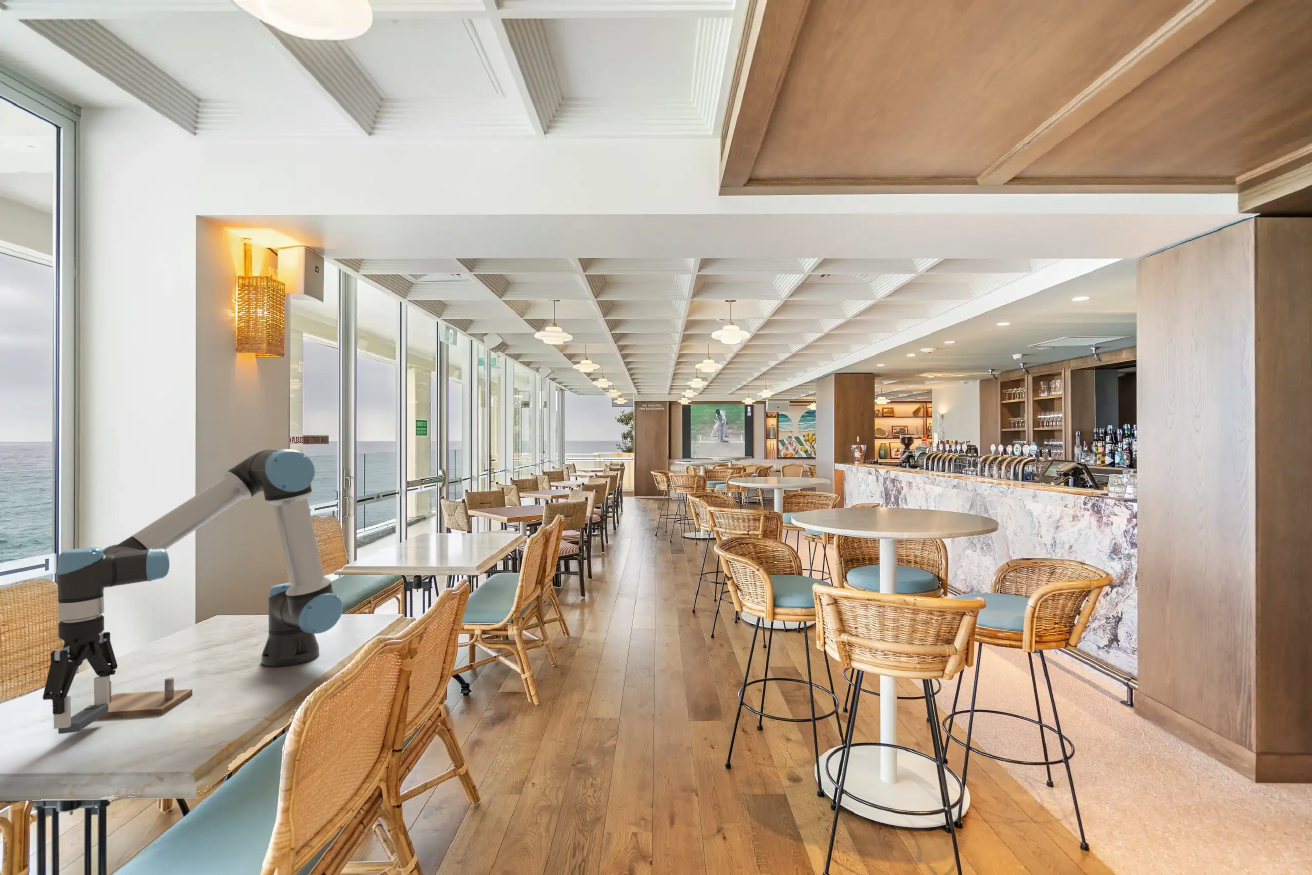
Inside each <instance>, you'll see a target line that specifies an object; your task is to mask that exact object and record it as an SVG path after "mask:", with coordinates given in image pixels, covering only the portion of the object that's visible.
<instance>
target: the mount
mask: <svg viewBox="0 0 1312 875" xmlns="http://www.w3.org/2000/svg"><path fill="white" fill-rule="evenodd" d="M109 690H110V704H108V712H106V713H105V714H104V715H102V716H101V717H99V718H98V719H97V720H100V719H101V720H104V719H117V718H133V717H134V718H135V717H149V716H151V717H152V716H162V715H164V714H166V713H168V712H169V711H170V710H172V709H173V708H175V707H176V706H179V704H181V703H183V702H185V701H186V700H188V699H189V698H190V697H192V696H193V689H192V688H190V689H175V678H174V677H167V678H165V679H164V690H156V691H153V690H152V691H140V692H122V693H113V694H112V681H111V680H110V687H109Z"/></svg>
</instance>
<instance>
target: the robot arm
mask: <svg viewBox="0 0 1312 875" xmlns="http://www.w3.org/2000/svg"><path fill="white" fill-rule="evenodd" d="M315 468H316V467H315V465H314V462H313V461H312V459H311V458H310V457H309V456H308V455H306V454H305V453H303V452H301V450H300V451H298V450H295V449H292V448H281V449H280V448H279V449H263V450H261V451H257V452H256V453H254V454H252V455H250V456H248V457H247V458H245V459H244V460H242V461H241V462H239V463H237V464H236V465H235V466H232V468H230V469H229V470H227V471H226V472H224V474H223V478H222V479H219V480H218V481H217V482H215V483H213V484H211V485H210V486H208V487H207V488H205V489H204V490H202V491H200V492H199V493H197V494H196V495H194V496H192V497H191V498H189V499H188V500H186V501H184V502H183V503H182V504H180V505H178V506H177V507H175V508H174V509H171V510H170V511H168V512H167V513H166V514H164V515H163V516H160V517H159V518H157V519H156V520H154V521H153V522H151V523H150V524H147V526H145V527H143V528H141V529H140V530H139V531H137V532H135V533H134V534H132V535H131V536H129V537H127V538H126V539H124V540H122V541H120V542H119V543H118V544H113V545H109V546H106V547H104V548H103V549H102V548H101V547H96V546H94V547H93V546H92V547H79V548H73V549H68V550H65V551H62V552H61V553H60V554H59V555H58V560H57V571H56V575H57V576H56V577H57V599H58V600H57V602H58V605H57V606H58V608H57V611H58V616H57V617H58V618H57V619H58V621H59V620H60V621H59V622H58V624H57V625H58V626H57V628H58V630H57V631H58V633H57V634H58V638H59V640H62V641H63V646H62V648H60V649H58V650H52V651H51V652H50V665H49V669H48V672H47V673H48V674H47V678H46V683H45V687H44V690H43V694H42V700H43V701H47V700H51V701H52V714H53V729H54V730H55V729H58V728H68V727H70V726H71V717H72V714H71V713H72V706H71V700H72V699H71V695H68V694H69V691H70V689H71V686H72V685H73V684H72V683H73V681H74V678H75V676H76V674H77V671H78V669H79V667H80V666H81V665H82V664H83V662H84V661H85V660H87V662H88V663H89V665H90V666H91V668H92V669H93V671H94V672H95V674H96V677H94V678H93V698H94V699H93V702H94V704H93V705H97V706H99V705H101V704H110V690H109V687H110V681H111V676H113V675H115V674H116V670H117V669H118V663H117V662H118V661H117V659H116V655H115V652H114V650H113V646H112V642H111V632H110V631H105V616H104V615H103V614H104V612H105V596H104V595H105V594H104V591H105V590H104V589H105V588H111V587H117V586H124V585H130V584H131V585H132V584H137V583H143V582H151V581H155V580H159V579H164V578H165V577H167V575H168V574H169V572H170V571H169V570H170V558H169V554H168V551H167V549H169V548H170V547H172V546H173V545H174V544H176V543H178V542H179V541H181V540H182V539H184V538H186V537H187V536H189V535H190V534H191V533H193V532H194V531H196V530H197V529H199V528H200V527H202V526H204V525H205V524H206V523H208V522H210V521H211V520H212V519H215V517H217V516H218V515H220V514H221V513H223V512H225V511H226V510H228V509H229V508H230V507H231V508H232V506H234V505H236V503H238V502H240V501H241V500H243V499H249V500H250V499H251V498H252V497H254V496H255V495H257V494H259V493H262V492H263V497H264V501H265V502H266V503H269V505H271V506H272V507H273V511H274V516H275V520H276V525H277V530H278V534H279V539H280V544H281V549H282V552H283V557H284V558H283V559H284V562H285V566H286V572H287V576H288V579H289V582H284V583H280V584H275V585H272V586H271V587H270V588H269V591H268V598H267V599H268V636H267V640H266V641H265V645H264V648H263V650H262V653H261V661H260V662H261V665H263V666H266V667H285V666H294V665H299V664H303V663H306V662H309V661H311V660H314V659H315V658H317V657H318V656H319V655H320V646H319V643H318V641H317V638H316V635H315V634H322V633H326V632H327V631H329V630H331V629H332V628H333V627H334V626H336V624H337V623H338V621H339V620H340V619H341V617H342V615H343V609H344V606H343V601H342V599H341V598H340V597H339V596H338V594H335V593H334V590H333V585H332V581H331V579H329V578H328V577H326V576H324V572H323V567H322V563H321V557H320V553H319V548H318V544H317V543H318V542H317V538H316V534H315V529H314V528H315V527H314V525H313V519H312V515H311V511H310V510H311V509H310V506H309V505H310V504H309V500H308V498H309V497H310V496H311V494H312V493H313V489H312V481H313V480H314V478H315V473H316V470H315Z"/></svg>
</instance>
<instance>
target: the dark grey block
mask: <svg viewBox="0 0 1312 875" xmlns="http://www.w3.org/2000/svg"><path fill="white" fill-rule="evenodd" d="M106 712H108V704H101V705H99V706H97V705H94V704H89V705H88V706H86V707H85V708H83V709H82V710H80V711H78V712H77V713H76V714H74V715H71V726H70V727H68V728H57V730H58V732H57V733H58V734H59V735H62V734H69V733H70V734H72V733H78V732H80V731H82V730H83V729H85V728H87V727H88V726H89V725H91V724H92V723H94V721H96V720H99V719H98V718H99V717H101V716H102V715H104V714H105V713H106Z"/></svg>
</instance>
